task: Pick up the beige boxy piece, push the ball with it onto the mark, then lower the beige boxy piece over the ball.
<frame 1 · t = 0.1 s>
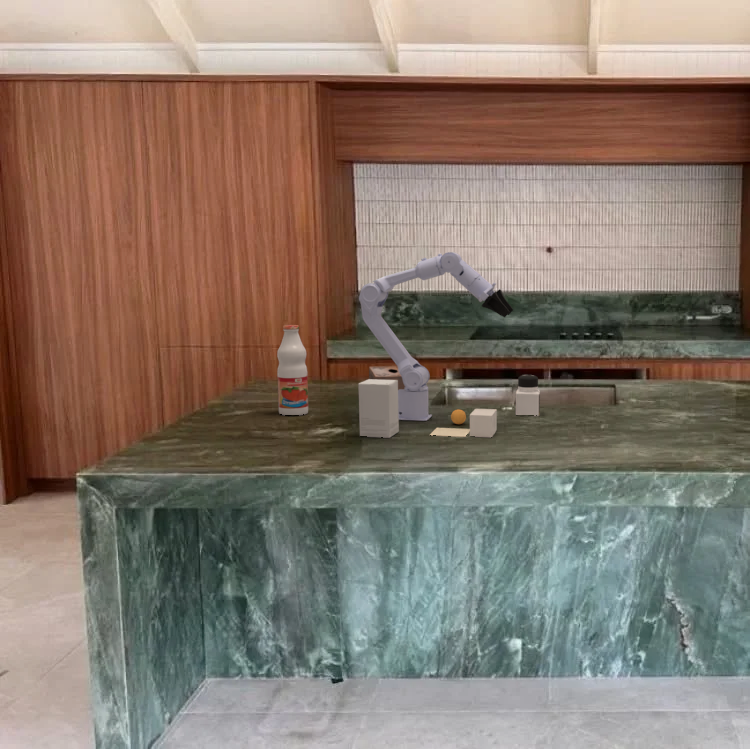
hand: (509, 313, 246), 32 cm above the countertop, tool tilted 50°, fingers open, 7 cm apart
medicine bottle: (527, 414, 263), on the countertop
mark: (450, 432, 238), on the countertop
tissue box cover: (393, 400, 294), on the countertop
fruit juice: (293, 414, 270), on the countertop
supplement box: (379, 435, 237), on the countertop
ball: (458, 416, 249), on the countertop
beige boxy piece: (483, 433, 236), on the countertop
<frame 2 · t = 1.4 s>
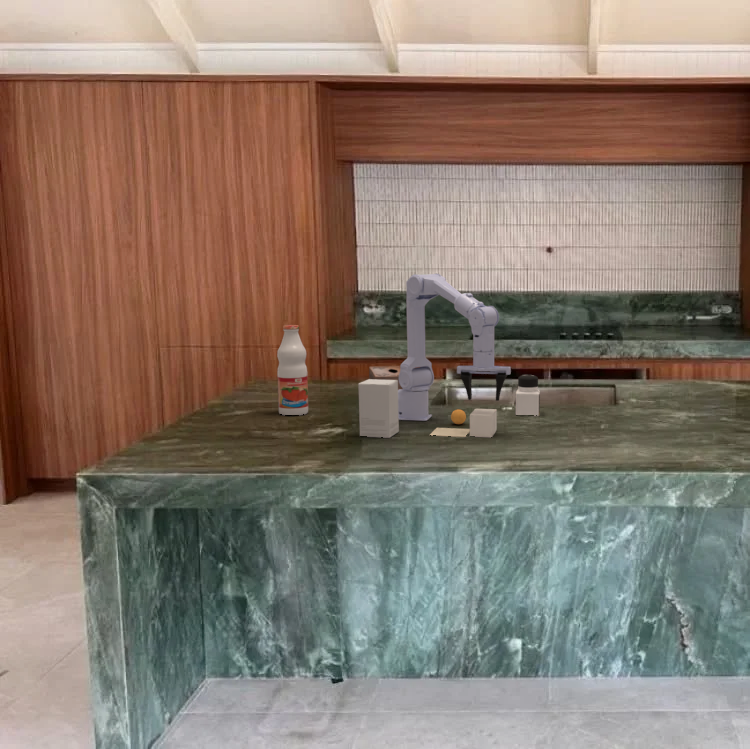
hand: (483, 399, 235), 9 cm above the countertop, tool pointing down, fingers open, 7 cm apart
nothing on the countertop moved.
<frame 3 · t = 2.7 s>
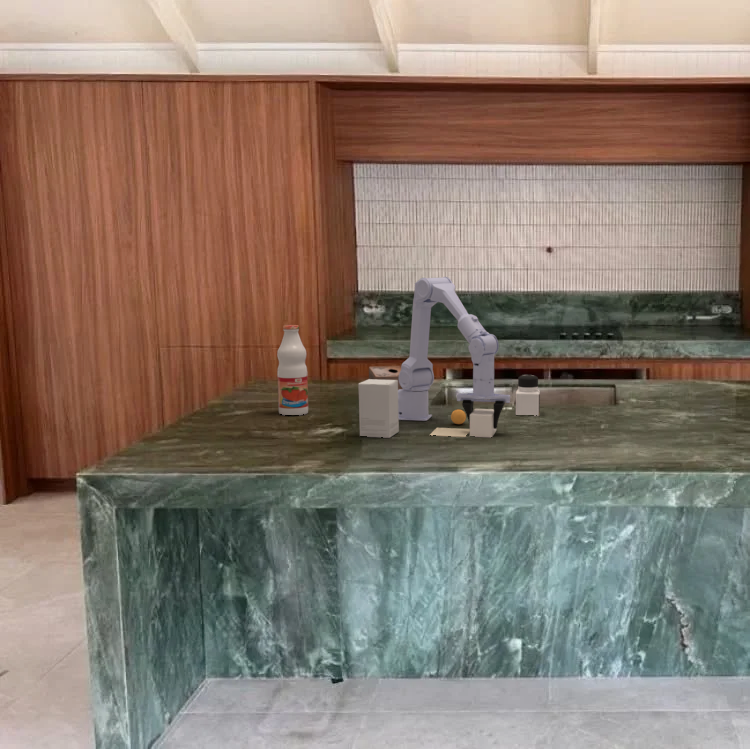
hand: (483, 427, 236), 2 cm above the countertop, tool pointing down, fingers closed on beige boxy piece, 6 cm apart
beige boxy piece: (483, 433, 236), on the countertop, touching gripper
everything else where it was.
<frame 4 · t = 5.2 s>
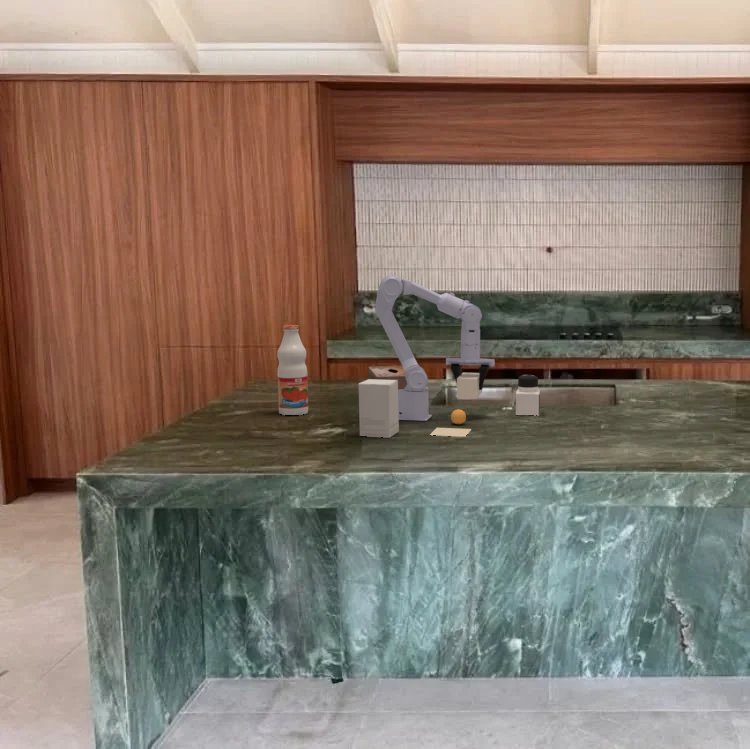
hand: (469, 389, 258), 9 cm above the countertop, tool pointing down, fingers closed on beige boxy piece, 6 cm apart
beige boxy piece: (469, 395, 258), point 7 cm above the countertop, touching gripper
everything else where it was.
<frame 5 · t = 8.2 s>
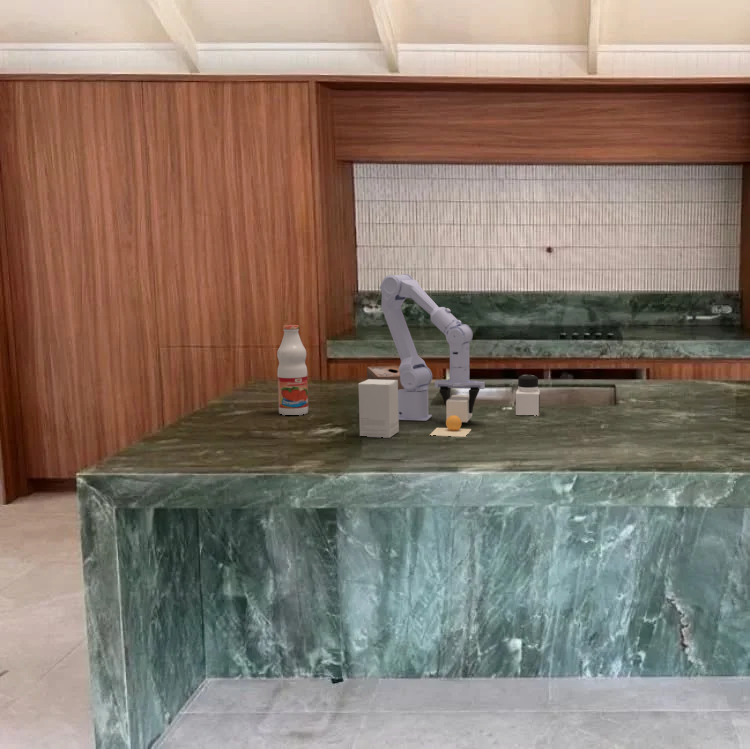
hand: (459, 412, 250), 3 cm above the countertop, tool pointing down, fingers closed on beige boxy piece, 6 cm apart
ball: (453, 423, 240), on the countertop
beige boxy piece: (459, 418, 251), point 1 cm above the countertop, touching gripper
everything else where it was.
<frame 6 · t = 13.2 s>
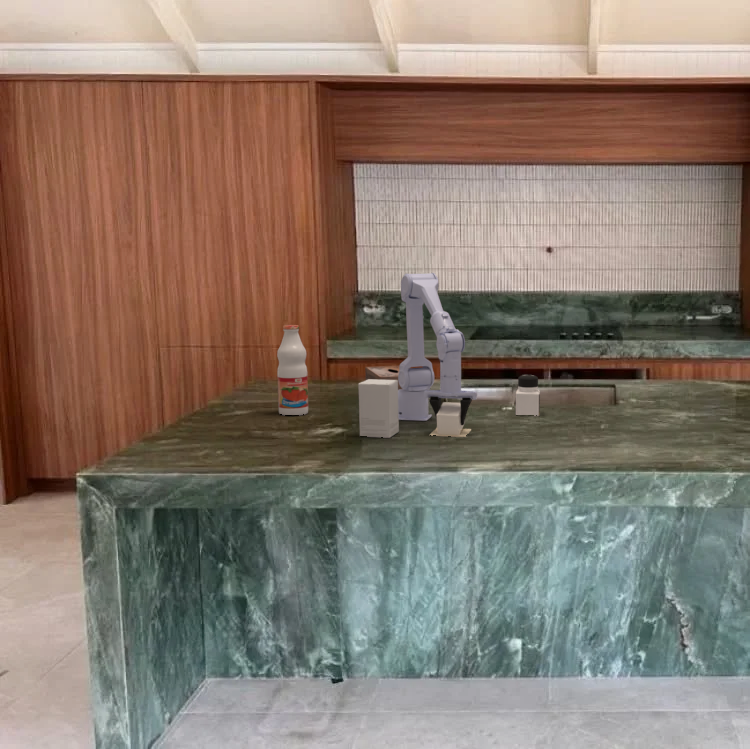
hand: (450, 424, 237), 2 cm above the countertop, tool pointing down, fingers closed on beige boxy piece, 6 cm apart
beige boxy piece: (451, 428, 238), point 1 cm above the countertop, tilted 11°, touching gripper
when the fingers open (2 cm above the countertop, at t = 13.9 s): beige boxy piece stays where it is, on the countertop.
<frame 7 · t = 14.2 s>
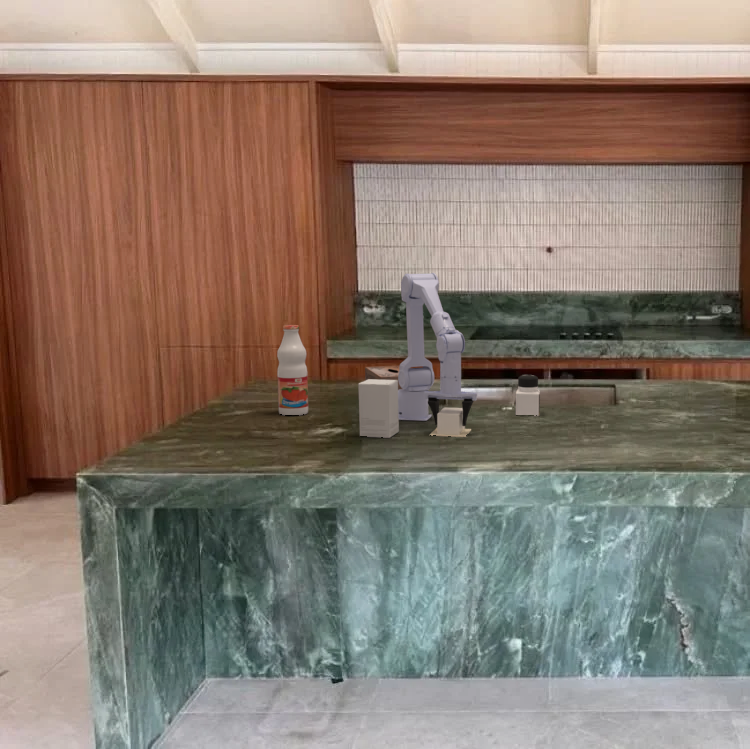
hand: (450, 424, 237), 2 cm above the countertop, tool pointing down, fingers open, 7 cm apart
beige boxy piece: (451, 431, 239), on the countertop
everything else where it was.
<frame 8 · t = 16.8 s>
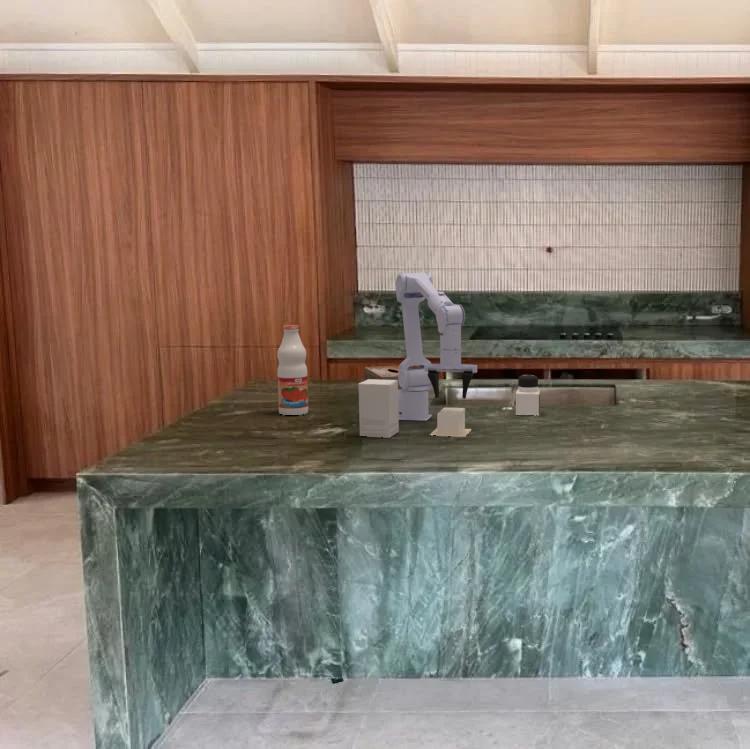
hand: (450, 397, 236), 10 cm above the countertop, tool pointing down, fingers open, 7 cm apart
at the end: ball 2.0 cm from the beige boxy piece (horizontally); beige boxy piece on the countertop; ball moved 9.0 cm from its start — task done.
